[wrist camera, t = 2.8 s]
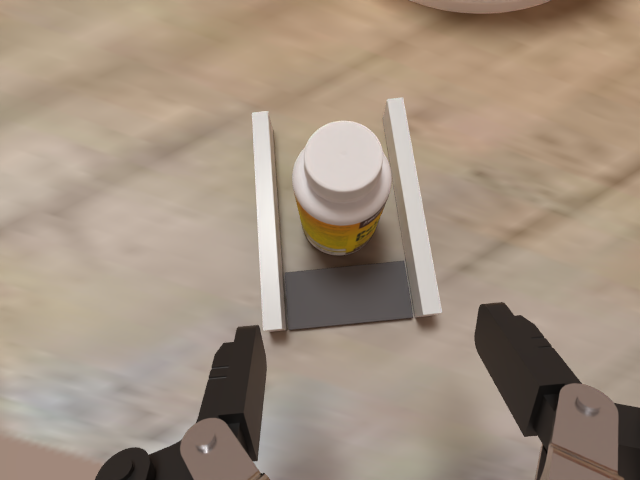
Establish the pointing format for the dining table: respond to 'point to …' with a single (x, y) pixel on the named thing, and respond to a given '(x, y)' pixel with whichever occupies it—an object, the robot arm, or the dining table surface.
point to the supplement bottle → (341, 186)
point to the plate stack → (480, 5)
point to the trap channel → (352, 281)
